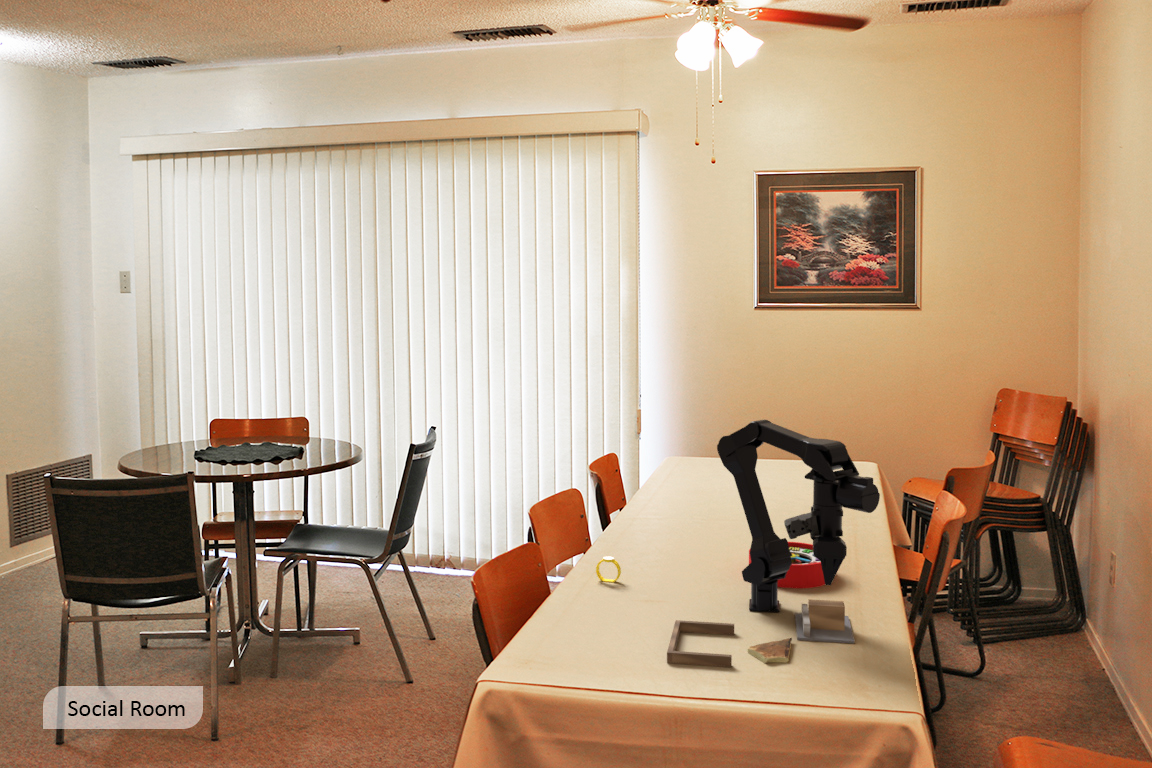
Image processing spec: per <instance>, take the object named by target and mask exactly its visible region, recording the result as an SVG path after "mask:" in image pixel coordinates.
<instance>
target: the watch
mask: <svg viewBox="0 0 1152 768" xmlns="http://www.w3.org/2000/svg"><path fill="white" fill-rule="evenodd" d="M603 562H604V563H612V564H614V566H615V567H616V569H617V575H616V578H615V579H609V578H605V577H603V575H601V571H600V566H601V564H602V563H603ZM595 573H596V576H597V577H598V579H599V580H600V582H604V583H605V582H606V583H615V582H617V581H618V579H620V577H621V574H622V567H621V565H620V564H619V562H618V561H617V560H616V559H615V557H613V556H611V555H610V556H603V557H602V559H601V560H599V561H598V563H597V565H596V566H595Z"/></svg>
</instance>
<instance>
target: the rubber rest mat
mask: <svg viewBox="0 0 1152 768" xmlns="http://www.w3.org/2000/svg"><path fill="white" fill-rule="evenodd" d="M794 616H795V617H794V618H795V629H796V638H797V641H810V642H824V643H840V644H841V643H844V644H855V642H856V641H855V637H854V634H853V629H852V625H851V622H850V618H849V617H850V616H849V615H845V629H844V631H841V630H824V629H810V636H804V633H803V624H802V612H795V613H794Z"/></svg>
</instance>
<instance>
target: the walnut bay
mask: <svg viewBox="0 0 1152 768" xmlns="http://www.w3.org/2000/svg"><path fill="white" fill-rule="evenodd" d="M681 632H682V633H683V632H684V633H696V634H697V633H698V634H710V635H711V634H712V635H713V634H714V635H728V636H730V635H731V636H734V635H735V623H732V622H731V623H728V622H711V621H710V622H709V621H694V620H681V619H679V620H678V619H675V621H674V625H673V628H672V632H671V635H670V636H671V637H670V640H669V643H668V648H667V651H666V663H667V664H678V665H679V664H680V665H694V666H695V665H696V666H707V667H708V666H709V667H723V668H732V663H733V662H732V661H733V658H732V654H728V653H727V654H726V653H725V654H724V653H709V652H698V651H697V652H693V651H680V650H676V649H677V646H678V641H679V639H680V638H679V637H680V633H681Z"/></svg>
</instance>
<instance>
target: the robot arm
mask: <svg viewBox="0 0 1152 768" xmlns="http://www.w3.org/2000/svg"><path fill="white" fill-rule="evenodd" d="M764 443H765V444H767V445H771V446H773V447H774V448H777V449H780V450H783V451H784V452H787V453H789V454H791V455H794V456H797V457H798V458H800V459H801V461H802V462H803V463H804V465H806V466H808V467H809V468H811V470H810V471H809V472H808V473H805V475H804V479H806V480H811V481H813V494H812V495H813V498H812V499H813V502H812V506H810V512H807V513H803V514H799V515H796V516H792V517H789V518H786V519H785V520H784V522H783V523H784V528H785V529H786V530H785V531H786V532H787V534H788V538H789V539H790V540H794V539H797V538H798V537H801V536H804V535H808V534H809V537H810V539H811V540H812V545H813V554H814V556H815V557H816V558H817V559H819V560H820V561H821V566H822V570H823V576H824V581H825V585H824V586H831V585H832V583H833V581H834V579H835V578H836V576H837V573H838V571H839V570H840V567H841V565H842V564H843V561H844V560H845V559H846V557H847V548H848V547H847V543H846V542H845V540H844V539H842V538H841V537H843V536H844V535H843V534H844V531H843V517H844V510H843V508H845V509H850V510H853V511H858V512H862V513H863V512H864V513H867V514H871V513H873V512H874V511H875V510H876V509H877V507H878V505H879V502H880V497H881V494H880V492H879V488H878V487H877V485H876V484H874V478H873V477H870V476H860V473H859V471H858V468H856V465H855V464H854V461H853V460H852V458H851V456H850V455H849V453H848V450H847V446H846V445H845V444H844V443H843V442H842V441H840V440H834V439H827V438H813V437H809V436H807V435H804V434H802V433H799V432H796V431H794V430H791V429H789V428H787V427H783V426H781V425H778V424H776V423H772V422H771V421H770V420H768V419H759V420H753V421H751V422H749V423H748V424H746V425H745V426H744V427H742V428H739V429H738V430H736V431H734V432H732V433H730V434H728V435H723V436H722V437H720V439H719V440H718V444H717V445H716V449H717V450H716V451H717V453H718V456H719V458H720V460H721V461H720V462H721V463H722V464H723V466H724V468H725V469H726V470H727V471H728V472H729V473H731V475H732V476H733V479H734V482H735V485H736V488H737V492H738V495H739V498H740V502H741V506H742V509H743V512H744V515H745V518H746V522H747V526H748V529H749V531H750V532H749V533H750V534H751V544H750V548H749V549H750V557H751V563H750V564H749V563H748V565H747V566H746V567H745V568H744V569H742V571H741V575H742V578H743V581H744V582H747V583H749V584H750V585H751V588H750V590H751V591H750V594H751V596H750V597H751V598H749V599H748V600H749V606H748V610H749V611H756V612H770V613H780V600H779V598H778V595H779V594H778V589H779V587H778V580H779V579H784V578H785V577H786V574H787V571H788V570H789V569H790V566H791V565H792V561H791V556H792V553H791V552H790V550H789V546H788V542H789V541H788V540H787V538H786V537H784V538H780V537H779V535H777V534H776V532H775V531H774V527H773V523H772V521H771V518H770V515H769V511H768V508H767V504H766V501H765V498H764V495H763V491H762V488H761V485H760V481H759V478H758V475H757V472H756V468H757V462H758V457H759V455H758V451H757V449H758V448H760V447H761V446H762V445H763V444H764ZM839 469H840V470H839Z"/></svg>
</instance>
